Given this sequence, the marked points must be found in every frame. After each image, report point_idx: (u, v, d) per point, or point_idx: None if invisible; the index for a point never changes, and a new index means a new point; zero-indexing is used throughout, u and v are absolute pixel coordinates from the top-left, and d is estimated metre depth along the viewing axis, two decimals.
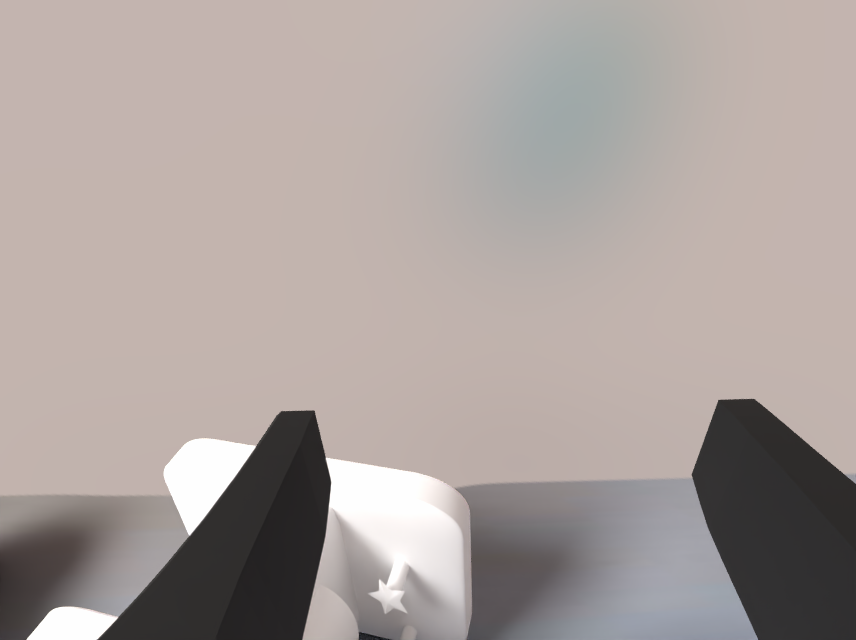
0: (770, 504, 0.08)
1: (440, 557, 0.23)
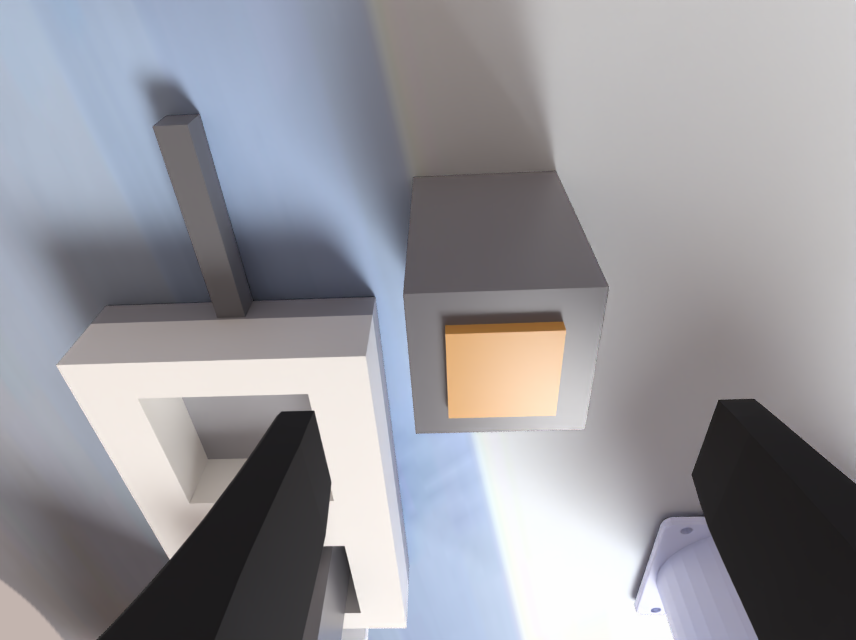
0: (770, 503, 0.08)
1: None
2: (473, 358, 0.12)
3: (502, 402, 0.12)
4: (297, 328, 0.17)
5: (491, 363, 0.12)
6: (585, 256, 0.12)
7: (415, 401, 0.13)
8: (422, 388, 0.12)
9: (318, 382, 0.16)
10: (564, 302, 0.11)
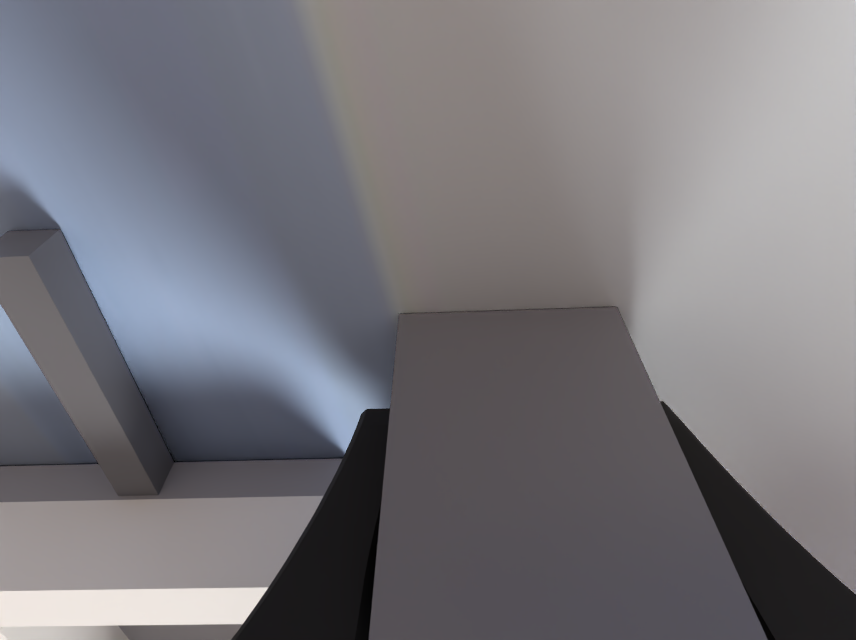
0: None
1: None
2: None
3: None
4: (230, 522, 0.12)
5: None
6: (709, 550, 0.06)
7: None
8: None
9: None
10: None
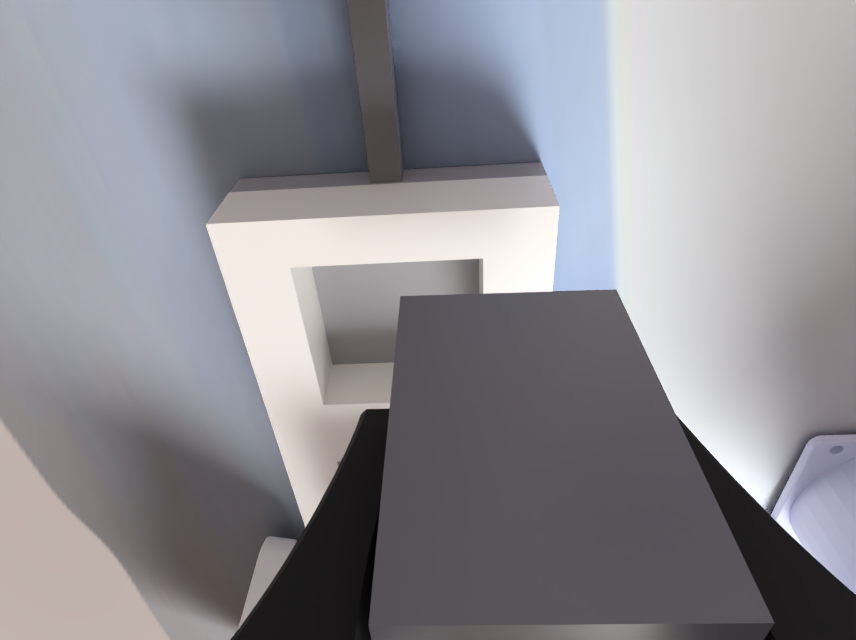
0: None
1: None
2: None
3: None
4: (467, 188, 0.15)
5: None
6: (706, 516, 0.06)
7: None
8: None
9: (498, 241, 0.15)
10: (680, 639, 0.06)
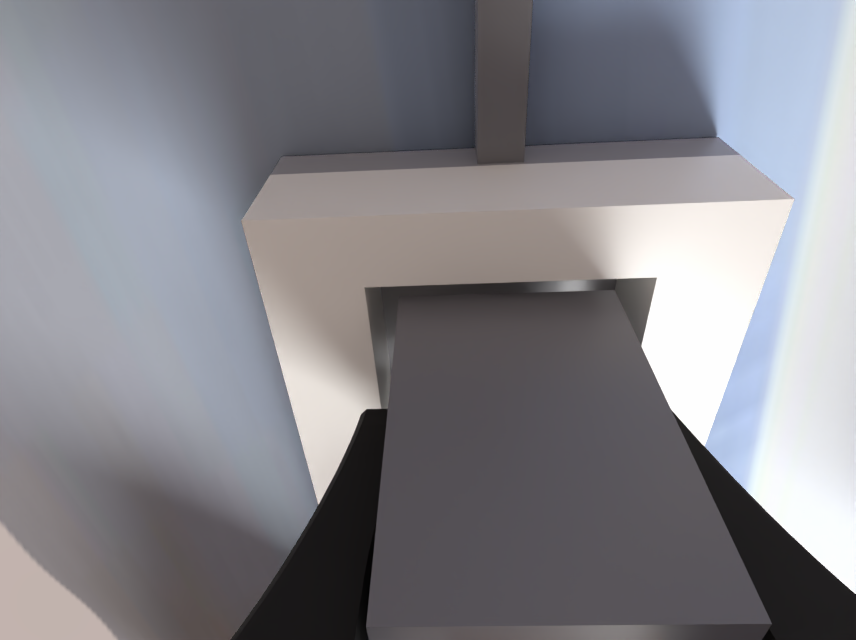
0: None
1: None
2: None
3: None
4: (628, 172, 0.10)
5: None
6: (704, 517, 0.06)
7: None
8: None
9: (685, 253, 0.10)
10: (678, 638, 0.06)
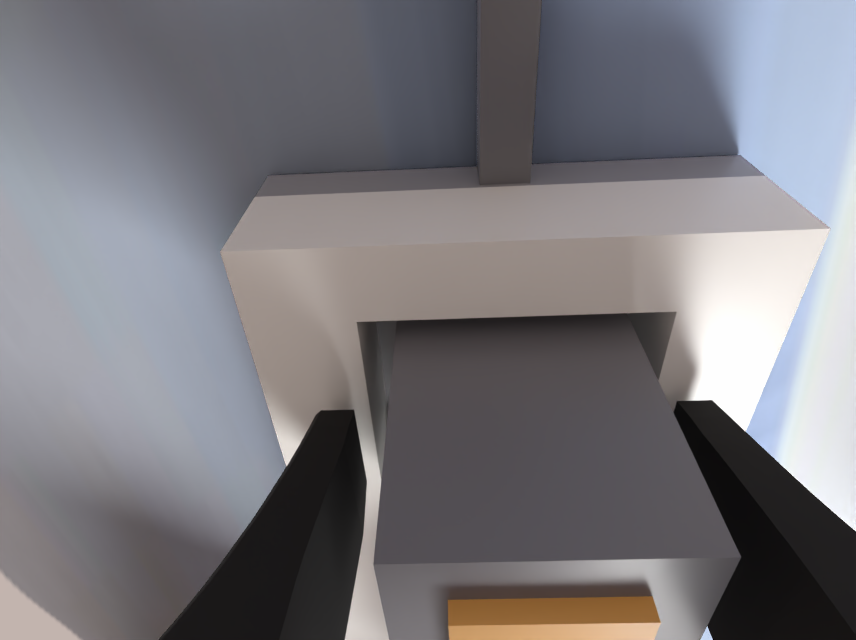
0: (722, 505, 0.08)
1: None
2: None
3: None
4: (645, 195, 0.09)
5: None
6: (683, 467, 0.07)
7: None
8: None
9: (708, 286, 0.09)
10: (657, 574, 0.06)
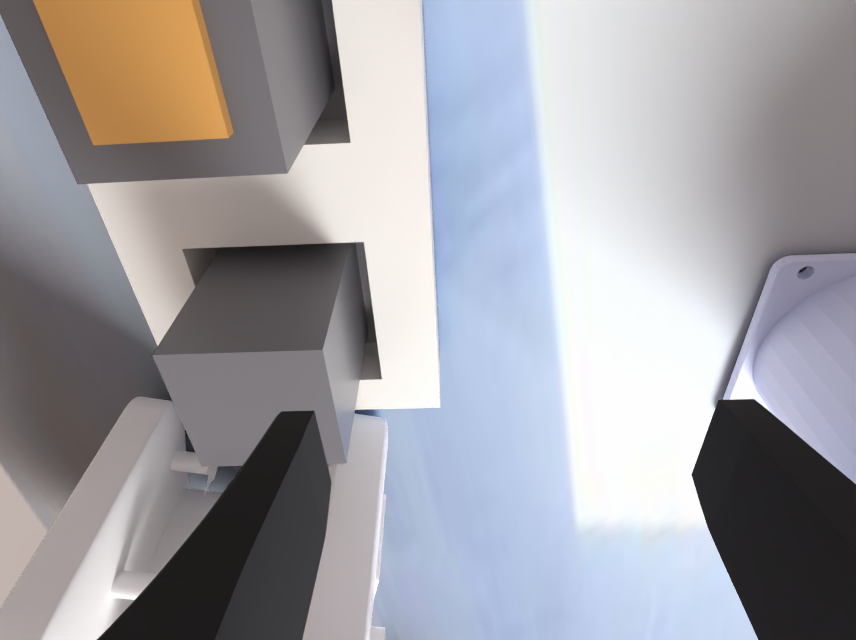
0: (770, 504, 0.08)
1: (89, 586, 0.17)
2: (82, 32, 0.09)
3: (150, 114, 0.09)
4: None
5: (109, 41, 0.09)
6: None
7: (54, 126, 0.10)
8: (55, 104, 0.10)
9: None
10: None
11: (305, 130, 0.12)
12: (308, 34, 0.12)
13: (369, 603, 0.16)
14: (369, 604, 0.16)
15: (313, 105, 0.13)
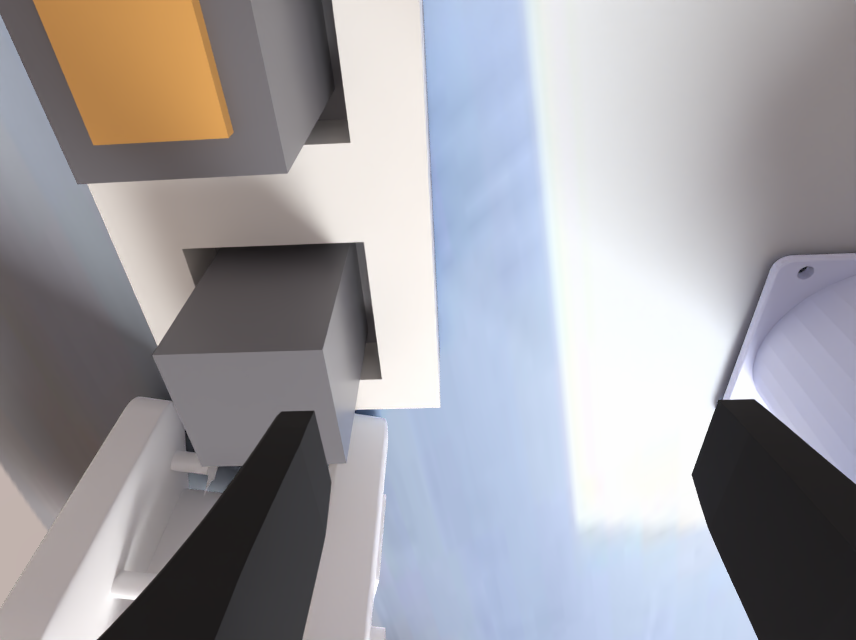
0: (770, 504, 0.08)
1: (89, 586, 0.17)
2: (82, 32, 0.09)
3: (150, 114, 0.09)
4: None
5: (109, 41, 0.09)
6: None
7: (54, 126, 0.10)
8: (55, 104, 0.10)
9: None
10: None
11: (305, 130, 0.12)
12: (308, 34, 0.12)
13: (369, 603, 0.16)
14: (368, 604, 0.16)
15: (313, 105, 0.13)
